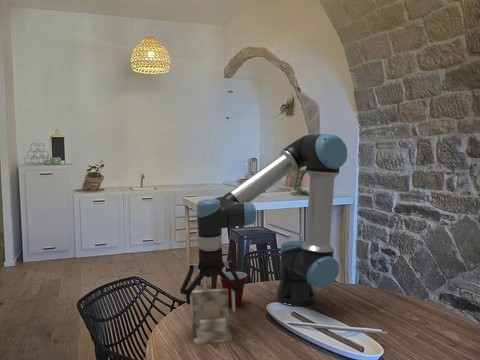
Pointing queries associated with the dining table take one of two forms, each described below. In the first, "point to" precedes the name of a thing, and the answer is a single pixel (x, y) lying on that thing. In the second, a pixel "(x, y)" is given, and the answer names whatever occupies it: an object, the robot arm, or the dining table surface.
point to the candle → (211, 310)
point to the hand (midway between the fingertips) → (212, 311)
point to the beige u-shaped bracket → (210, 327)
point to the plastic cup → (242, 278)
